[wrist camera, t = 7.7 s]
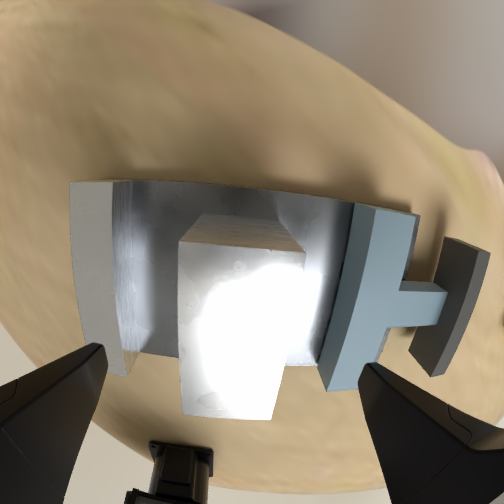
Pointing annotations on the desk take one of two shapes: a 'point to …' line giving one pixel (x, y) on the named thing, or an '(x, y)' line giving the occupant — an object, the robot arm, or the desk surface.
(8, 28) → the desk surface
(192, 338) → the steel block
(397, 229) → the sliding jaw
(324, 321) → the vise base
